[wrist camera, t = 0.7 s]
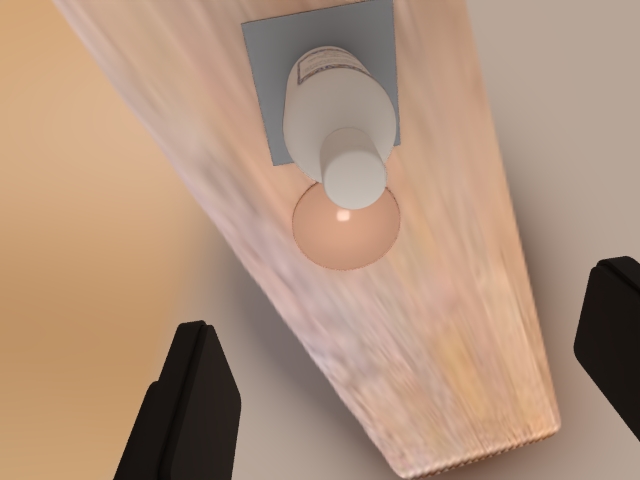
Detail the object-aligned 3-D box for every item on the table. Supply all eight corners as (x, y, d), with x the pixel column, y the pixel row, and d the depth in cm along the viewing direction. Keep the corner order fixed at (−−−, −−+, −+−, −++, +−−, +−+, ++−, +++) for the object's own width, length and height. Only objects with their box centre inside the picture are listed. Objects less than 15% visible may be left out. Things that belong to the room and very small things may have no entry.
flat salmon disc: (283, 183, 40) (282, 186, 39) (395, 165, 39) (397, 167, 39) (303, 274, 46) (303, 277, 45) (401, 258, 45) (402, 261, 45)
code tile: (241, 23, 33) (241, 23, 32) (391, -4, 32) (392, -4, 32) (273, 165, 39) (273, 165, 39) (399, 144, 38) (400, 144, 38)
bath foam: (341, 142, 38) (378, 268, 21) (273, 106, 36) (251, 212, 19) (383, 71, 35) (465, 150, 18) (310, 28, 33) (325, 68, 16)
